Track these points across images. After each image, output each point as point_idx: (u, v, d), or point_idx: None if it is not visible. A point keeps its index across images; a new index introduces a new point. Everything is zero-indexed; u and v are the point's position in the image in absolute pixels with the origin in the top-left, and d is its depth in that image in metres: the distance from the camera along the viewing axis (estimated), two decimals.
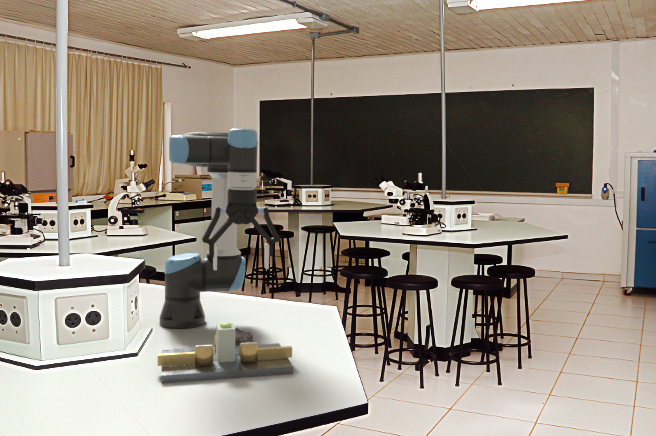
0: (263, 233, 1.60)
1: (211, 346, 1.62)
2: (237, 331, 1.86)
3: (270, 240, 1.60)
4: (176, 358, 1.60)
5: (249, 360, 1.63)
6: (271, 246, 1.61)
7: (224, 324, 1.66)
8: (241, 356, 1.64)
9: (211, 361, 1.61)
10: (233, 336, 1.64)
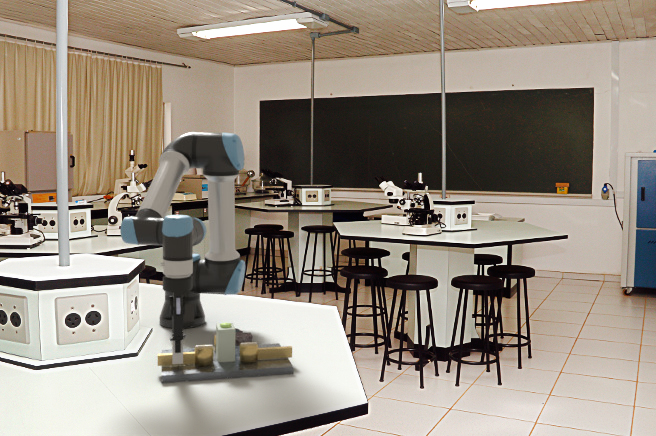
0: None
1: (211, 346, 1.62)
2: (236, 331, 1.85)
3: (173, 336, 1.57)
4: None
5: (249, 360, 1.63)
6: (175, 343, 1.57)
7: (224, 324, 1.66)
8: (241, 356, 1.64)
9: (211, 361, 1.61)
10: (233, 336, 1.64)
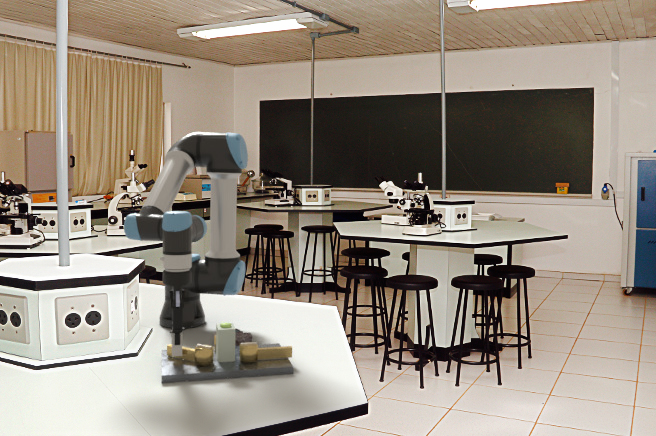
0: None
1: (209, 348, 1.61)
2: (236, 331, 1.85)
3: (172, 329, 1.61)
4: None
5: (249, 360, 1.63)
6: (174, 335, 1.62)
7: (224, 324, 1.66)
8: (241, 356, 1.64)
9: (205, 362, 1.60)
10: (233, 336, 1.64)
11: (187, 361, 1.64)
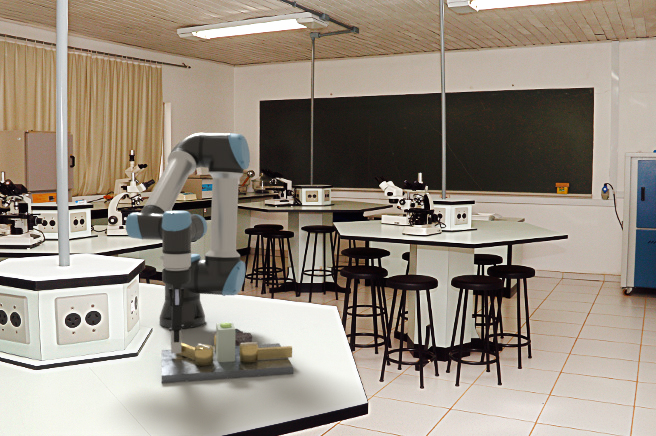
0: None
1: (207, 348, 1.61)
2: (236, 331, 1.85)
3: None
4: (184, 349, 1.67)
5: (249, 360, 1.63)
6: (173, 333, 1.64)
7: (224, 324, 1.66)
8: (241, 356, 1.64)
9: (203, 363, 1.60)
10: (233, 336, 1.64)
11: (187, 361, 1.64)
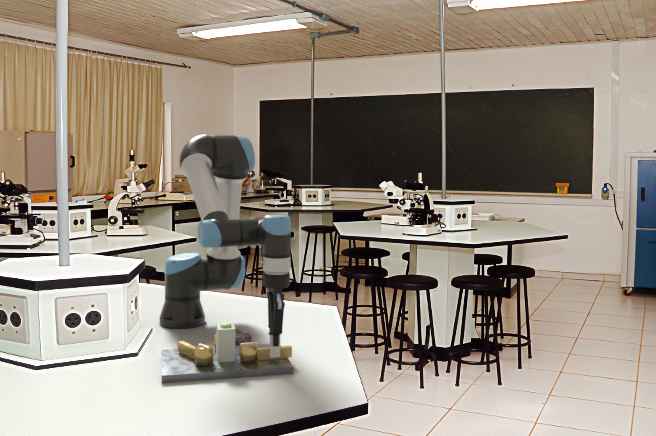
0: (271, 321, 1.64)
1: (207, 348, 1.61)
2: (236, 332, 1.85)
3: (271, 330, 1.64)
4: (186, 349, 1.67)
5: (250, 360, 1.63)
6: (273, 337, 1.64)
7: (224, 324, 1.66)
8: (241, 356, 1.64)
9: (202, 363, 1.60)
10: (233, 336, 1.64)
11: (187, 361, 1.64)
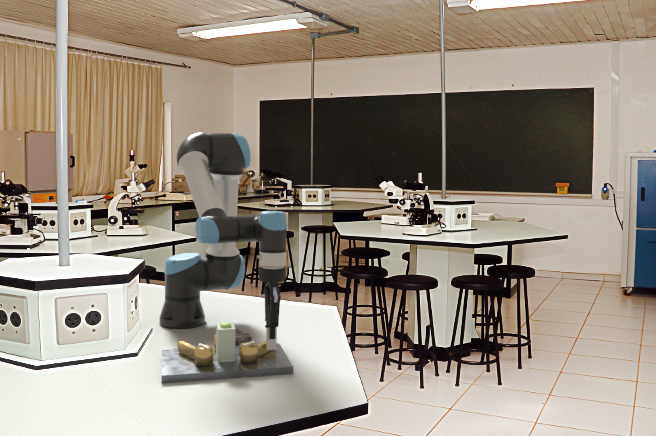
0: (268, 314, 1.69)
1: (207, 348, 1.61)
2: (236, 332, 1.85)
3: (268, 323, 1.69)
4: (186, 349, 1.67)
5: (255, 359, 1.65)
6: (270, 329, 1.69)
7: (224, 324, 1.66)
8: (247, 357, 1.63)
9: (202, 363, 1.60)
10: (233, 336, 1.64)
11: (187, 361, 1.64)
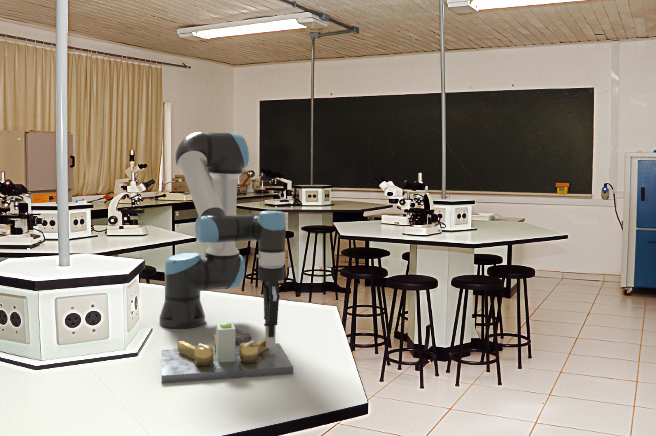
0: (267, 312, 1.71)
1: (207, 348, 1.61)
2: (235, 332, 1.85)
3: (267, 322, 1.71)
4: (186, 349, 1.67)
5: (256, 358, 1.65)
6: (269, 328, 1.71)
7: (224, 324, 1.66)
8: (249, 357, 1.63)
9: (202, 363, 1.60)
10: (233, 336, 1.64)
11: (187, 361, 1.64)
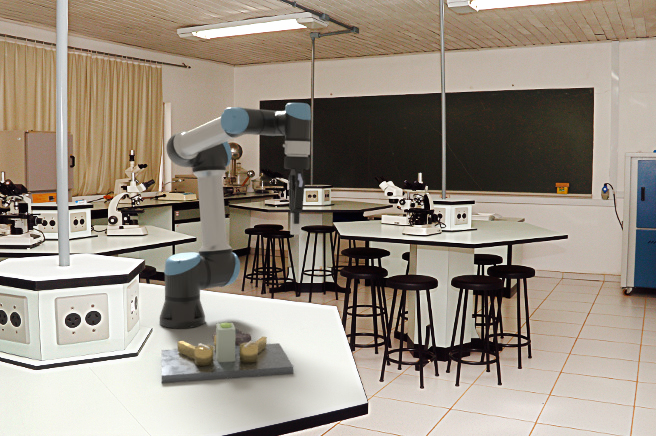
0: (292, 200, 1.80)
1: (207, 348, 1.61)
2: (235, 332, 1.85)
3: (292, 209, 1.80)
4: (186, 349, 1.67)
5: (257, 358, 1.65)
6: (294, 215, 1.81)
7: (224, 324, 1.66)
8: (250, 357, 1.63)
9: (202, 363, 1.60)
10: (233, 336, 1.64)
11: (187, 361, 1.64)
